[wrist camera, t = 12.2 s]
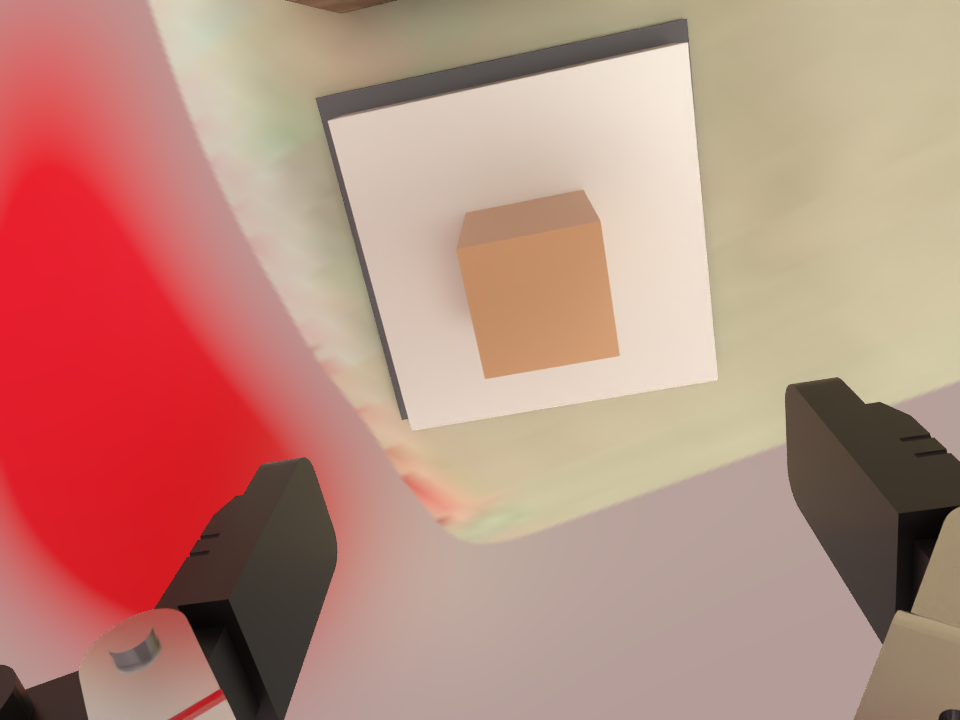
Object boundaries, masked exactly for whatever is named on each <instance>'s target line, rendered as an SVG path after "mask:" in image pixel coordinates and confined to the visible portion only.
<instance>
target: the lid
mask: <svg viewBox="0 0 960 720" xmlns="http://www.w3.org/2000/svg"><path fill="white" fill-rule="evenodd" d="M328 124H329V128H330V132H331V135H332V139H333V143H334V146H335V150H336V154H337V157H338V161H339V165H340V168H341V172H342V176H343V179H344V183H345V187H346V191H347V194H348V198H349V202H350V205H351V209H352V213H353V216H354V220H355V224H356V227H357V231H358V235H359V238H360V242H361V246H362V250H363V253H364V257H365V261H366V264H367V268H368V272H369V275H370V279H371V283H372V286H373V290H374V294H375V297H376V301H377V305H378V308H379V312H380V316H381V320H382V323H383V327H384V331H385V334H386V338H387V342H388V345H389V349H390V353H391V356H392V360H393V364H394V367H395V371H396V375H397V378H398V382H399V386H400V390H401V393H402V397H403V401H404V404H405V408H406V412H407V415H408V419H409V423H410V426H411V430H412V431H415V430H421V429H427V428H433V427H439V426H445V425H451V424H457V423H463V422H469V421H475V420H481V419H487V418H493V417H499V416H505V415H511V414H517V413H523V412H529V411H535V410H541V409H547V408H553V407H559V406H565V405H571V404H577V403H583V402H589V401H595V400H601V399H607V398H613V397H619V396H625V395H631V394H637V393H643V392H649V391H655V390H661V389H667V388H673V387H679V386H685V385H692V384H698V383H704V382H710V381H716V380H718V374H717V363H716V352H715V341H714V330H713V318H712V307H711V296H710V285H709V274H708V262H707V251H706V240H705V229H704V217H703V206H702V195H701V184H700V173H699V161H698V150H697V139H696V128H695V117H694V105H693V94H692V83H691V72H690V60H689V49H688V42H686V43H671V44H666V45H662V46H657V47H652V48H648V49H643V50H639V51H634V52H630V53H625V54H620V55H616V56H611V57H607V58H602V59H597V60H593V61H588V62H584V63H579V64H574V65H570V66H565V67H561V68H556V69H552V70H547V71H542V72H538V73H533V74H529V75H524V76H519V77H515V78H510V79H506V80H501V81H497V82H492V83H487V84H483V85H478V86H474V87H469V88H464V89H460V90H455V91H451V92H446V93H442V94H437V95H432V96H428V97H423V98H419V99H414V100H409V101H405V102H400V103H396V104H391V105H386V106H382V107H377V108H373V109H368V110H364V111H359V112H354V113H350V114H345V115H342V116H339V117H337V118H334V119H331V120H329V121H328Z"/></svg>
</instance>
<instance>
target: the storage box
mask: <svg viewBox="0 0 960 720" xmlns="http://www.w3.org/2000/svg"><path fill="white" fill-rule="evenodd" d="M287 1H291V2H295V3H299V4H304V5H308V6H312V7H316V8H321V9H325V10H329V11H333V12H338V13H343V12H347V11H352V10H356V9H361V8H365V7H369V6H374V5H378V4H383V3H387V2H391V1H396V0H287Z"/></svg>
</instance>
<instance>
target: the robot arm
mask: <svg viewBox="0 0 960 720" xmlns="http://www.w3.org/2000/svg"><path fill="white" fill-rule="evenodd" d="M785 410H786V437H787V465H788V476H789V481H790V485H791V489H792V493H793V496H794V499H795V501H796V503H797V506H798V507H799V509H800V511H801V512H802V514H803V516H804V517H805V519H806V520H807V522H808V524H809V525H810V527H811V529H812V530H813V532H814V533H815V535H816V537H817V538H818V540H819V542H820V543H821V545H822V547H823V548H824V550H825V551H826V553H827V555H828V556H829V558H830V560H831V561H832V563H833V564H834V566H835V568H836V569H837V571H838V573H839V574H840V576H841V577H842V579H843V581H844V582H845V584H846V586H847V587H848V589H849V591H850V592H851V594H852V595H853V597H854V599H855V600H856V602H857V604H858V605H859V607H860V608H861V610H862V612H863V613H864V615H865V616H866V618H867V620H868V621H869V623H870V625H871V626H872V628H873V630H874V631H875V633H876V634H877V636H878V638H879V639H880V641H881V643H882V644H883V646H882V648H881V651H880V653H879V657H878V659H877V661H876V664H875V666H874V669H873V671H872V674H871V676H870V679H869V682H868V684H867V687H866V689H865V692H864V694H863V697H862V700H861V702H860V705H859V707H858V710H857V713H856V715H855V717H854V720H960V461H958V460H957V459H956V458H955V457H954V456H953V455H952V454H951V453H947V450H946V448H945V447H943V446H942V445H941V444H940V443H939V442H938V441H937V440H936V439H935V438H931V436H930V433H929V432H928V431H926V429H924V428H923V427H922V426H921V425H920V424H919V423H918V422H917V421H916V420H915V419H914V418H913V417H912V416H910V415H908V414H906V413H904V412H901V411H899V410H896V409H895V408H892V407H890V406H888V405H886V404H883V403H881V402H877V403H870V404H865V403H864V402H863V401H862V400H861V399H860V398H859V397H858V396H857V395H856V394H855V393H854V392H853V391H852V390H851V389H850V388H849V387H848V386H847V385H846V384H845V383H844V382H843V381H842V380H841V379H840V378H829V379H823V380H816V381H809V382H803V383H796V384H790V385H788V387H787V389H786V393H785ZM336 561H337V542H336V536H335V531H334V528H333V525H332V522H331V519H330V516H329V514H328V510H327V507H326V504H325V501H324V498H323V495H322V492H321V489H320V486H319V483H318V480H317V477H316V473H315V471H314V468H313V466H312V464H311V462H310V461H309V460H308V459H307V458H297V459H290V460H284V461H278V462H271V463H265V464H262V465H261V466H260V467H259V469H258V471H257V472H256V474H255V476H254V477H253V479H252V481H251V482H250V484H249V486H248V487H247V489H246V491H245V492H244V494H243V495H240V496H235V497H234V498H233V499H232V500H231V501H230V502H229V503H227V504H226V505H225V506H224V507H223V508H222V509H220V510H219V511H218V512H217V513H216V514H215V515H213V517H212V519H211V520H210V522H209V523H208V525H207V526H206V528H205V530H204V531H203V533H202V534H201V540H198V541H197V542H196V544H195V546H194V547H193V549H192V550H191V552H190V557H187V558H186V560H185V561H184V563H183V564H182V566H181V567H180V569H179V571H178V572H177V574H176V575H175V577H174V579H173V580H172V582H171V583H170V585H169V586H168V588H167V590H166V591H165V593H164V594H163V596H162V597H161V599H160V601H159V602H158V604H157V605H156V607H155V609H154V610H150V611H146V612H143V613H140V614H137V615H135V616H132V617H130V618H128V619H126V620H124V621H122V622H121V623H119V624H117V625H115V626H114V627H113V628H111V629H110V630H108V631H107V632H106V633H104V634H103V635H102V636H101V637H100V638H99V639H98V640H96V641H95V642H94V643H93V645H92V646H91V647H90V648H89V649H88V651H87V653H86V654H85V655H84V657H83V659H82V661H81V663H80V667H79V671H76V672H74V673H71V674H68V675H65V676H63V677H60V678H57V679H54V680H51V681H48V682H46V683H43V684H40V685H37V686H34V687H32V688H29V689H26V690H25V689H24V687H23V685H22V684H21V682H20V680H19V679H18V677H17V675H16V673H15V672H14V670H13V669H12V668H10V667H8V666H5V665H0V720H284V718H285V715H286V712H287V709H288V706H289V703H290V700H291V697H292V694H293V691H294V689H295V686H296V683H297V680H298V677H299V674H300V671H301V668H302V665H303V662H304V659H305V656H306V653H307V650H308V647H309V644H310V641H311V638H312V635H313V632H314V629H315V626H316V623H317V621H318V618H319V614H320V612H321V609H322V606H323V602H324V600H325V596H326V594H327V591H328V588H329V585H330V582H331V579H332V576H333V573H334V570H335V567H336Z"/></svg>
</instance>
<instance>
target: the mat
mask: <svg viewBox="0 0 960 720" xmlns="http://www.w3.org/2000/svg"><path fill="white" fill-rule="evenodd" d="M686 42H688V49H689V38H688V26H687V19H683V20H678V21H673V22H669V23H664V24H660V25H655V26H650V27H646V28H641V29H636V30H632V31H627V32H622V33H618V34H613V35H608V36H604V37H599V38H594V39H590V40H585V41H580V42H576V43H571V44H566V45H562V46H557V47H552V48H548V49H543V50H538V51H534V52H529V53H524V54H520V55H515V56H510V57H506V58H501V59H496V60H492V61H487V62H482V63H478V64H473V65H468V66H464V67H459V68H454V69H450V70H445V71H440V72H436V73H431V74H426V75H422V76H417V77H412V78H408V79H403V80H398V81H394V82H389V83H384V84H380V85H375V86H370V87H366V88H361V89H357V90H352V91H347V92H343V93H338V94H333V95H329V96H324V97H319V98H316V100H317V104H318V108H319V111H320V115H321V119H322V123H323V126H324V130H325V134H326V138H327V141H328V145H329V149H330V152H331V156H332V160H333V164H334V167H335V171H336V175H337V179H338V182H339V186H340V190H341V193H342V197H343V201H344V205H345V208H346V212H347V216H348V220H349V223H350V227H351V231H352V235H353V238H354V242H355V246H356V249H357V253H358V257H359V261H360V264H361V268H362V272H363V276H364V279H365V283H366V287H367V291H368V294H369V298H370V302H371V305H372V309H373V313H374V317H375V320H376V324H377V328H378V332H379V335H380V339H381V343H382V346H383V350H384V354H385V358H386V361H387V365H388V369H389V373H390V376H391V380H392V384H393V388H394V391H395V395H396V399H397V402H398V406H399V410H400V414H401V417H402V420H404V419H408V415H407V412H406V408H405V404H404V401H403V397H402V393H401V390H400V386H399V382H398V378H397V375H396V371H395V367H394V364H393V360H392V356H391V353H390V349H389V345H388V342H387V338H386V334H385V331H384V327H383V323H382V320H381V316H380V312H379V308H378V305H377V301H376V297H375V294H374V290H373V286H372V283H371V279H370V275H369V272H368V268H367V264H366V261H365V257H364V253H363V250H362V246H361V242H360V238H359V235H358V231H357V227H356V224H355V220H354V216H353V213H352V209H351V205H350V202H349V198H348V194H347V191H346V187H345V183H344V179H343V176H342V172H341V168H340V165H339V161H338V157H337V154H336V150H335V146H334V143H333V139H332V135H331V132H330V128H329V124H328V121H329V120H331V119H334V118H337V117H339V116H342V115H345V114H350V113H354V112H359V111H364V110H368V109H373V108H377V107H382V106H386V105H391V104H396V103H400V102H405V101H409V100H414V99H419V98H423V97H428V96H432V95H437V94H442V93H446V92H451V91H455V90H460V89H464V88H469V87H474V86H478V85H483V84H487V83H492V82H497V81H501V80H506V79H510V78H515V77H519V76H524V75H529V74H533V73H538V72H542V71H547V70H552V69H556V68H561V67H565V66H570V65H574V64H579V63H584V62H588V61H593V60H597V59H602V58H607V57H611V56H616V55H620V54H625V53H630V52H634V51H639V50H643V49H648V48H652V47H657V46H662V45H666V44H671V43H686ZM689 60H690V50H689ZM690 72H691V63H690ZM691 83H692V75H691ZM692 94H693V87H692ZM693 105H694V99H693ZM694 117H695V111H694ZM695 128H696V123H695ZM696 139H697V135H696ZM697 150H698V147H697ZM698 161H699V159H698ZM699 173H700V171H699ZM700 184H701V183H700Z"/></svg>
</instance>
